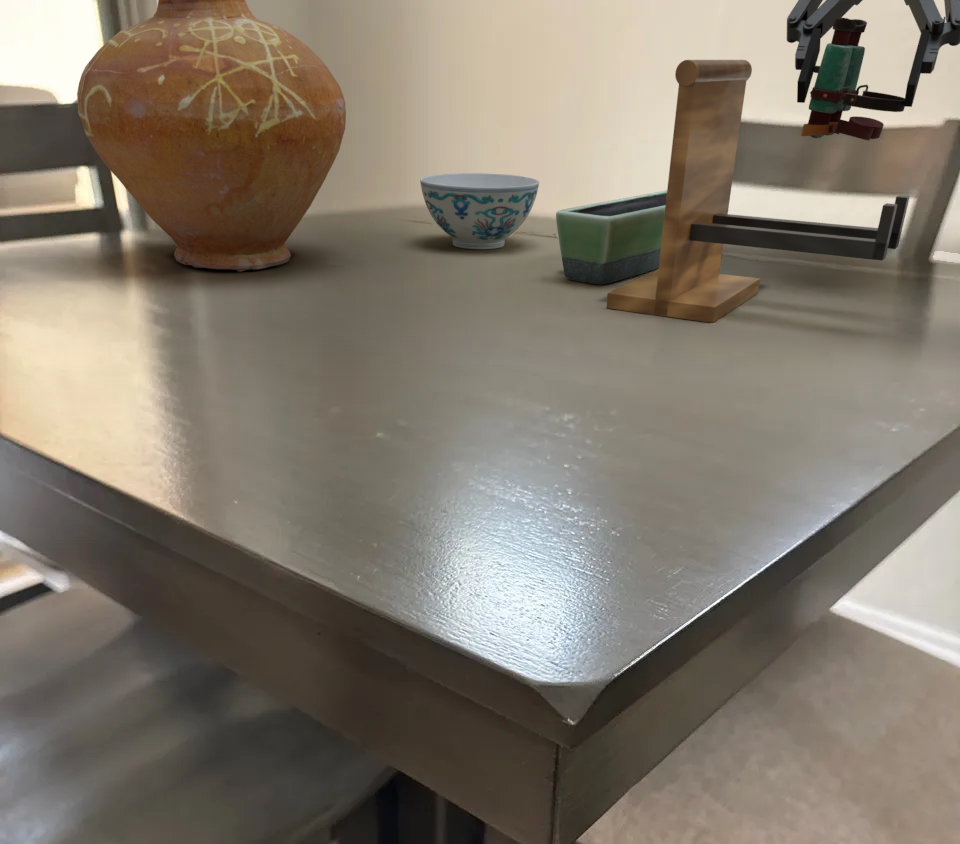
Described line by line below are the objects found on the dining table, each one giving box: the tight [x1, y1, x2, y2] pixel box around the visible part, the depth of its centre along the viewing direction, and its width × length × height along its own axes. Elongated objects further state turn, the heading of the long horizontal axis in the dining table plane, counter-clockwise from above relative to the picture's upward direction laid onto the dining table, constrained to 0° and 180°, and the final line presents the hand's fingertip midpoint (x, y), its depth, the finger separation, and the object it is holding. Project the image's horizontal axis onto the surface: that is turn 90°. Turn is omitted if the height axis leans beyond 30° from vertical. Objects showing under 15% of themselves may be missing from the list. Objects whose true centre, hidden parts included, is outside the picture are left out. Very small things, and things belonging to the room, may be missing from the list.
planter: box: [555, 189, 667, 285], centre depth 114 cm, size 28×7×7 cm, turn 142°
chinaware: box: [419, 172, 540, 250], centre depth 125 cm, size 15×15×8 cm
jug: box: [76, 0, 347, 272], centre depth 106 cm, size 28×28×30 cm
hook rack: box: [606, 59, 911, 324], centre depth 93 cm, size 24×17×22 cm
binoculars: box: [800, 17, 906, 141], centre depth 99 cm, size 9×11×10 cm
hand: (854, 94), depth 97 cm, fingers closed on binoculars, 10 cm apart
